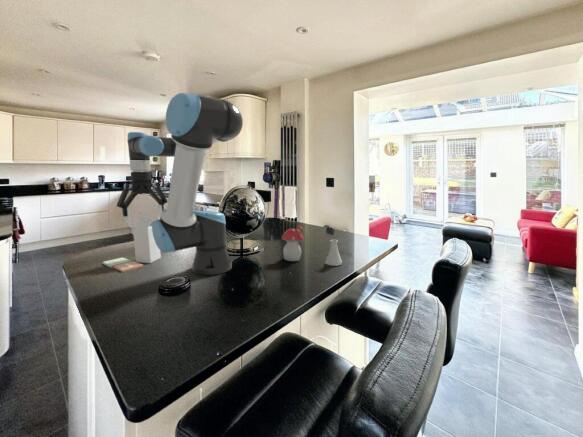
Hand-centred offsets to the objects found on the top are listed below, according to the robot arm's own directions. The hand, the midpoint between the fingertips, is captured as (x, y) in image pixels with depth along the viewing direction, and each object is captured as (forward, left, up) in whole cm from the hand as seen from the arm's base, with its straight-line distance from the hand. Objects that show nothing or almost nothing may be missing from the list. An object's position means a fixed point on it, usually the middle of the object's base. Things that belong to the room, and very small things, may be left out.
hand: (145, 221), depth 126 cm
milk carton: (0, 0, -17) cm, 17 cm away
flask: (-66, -45, -17) cm, 82 cm away
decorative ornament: (-49, -39, -17) cm, 65 cm away
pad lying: (-3, +10, -17) cm, 20 cm away
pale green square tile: (+7, +10, -17) cm, 21 cm away
